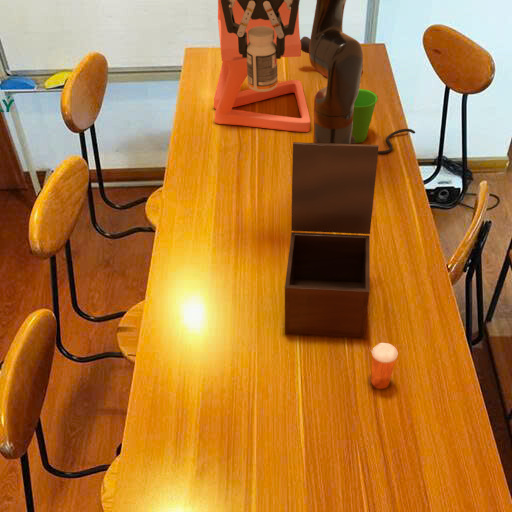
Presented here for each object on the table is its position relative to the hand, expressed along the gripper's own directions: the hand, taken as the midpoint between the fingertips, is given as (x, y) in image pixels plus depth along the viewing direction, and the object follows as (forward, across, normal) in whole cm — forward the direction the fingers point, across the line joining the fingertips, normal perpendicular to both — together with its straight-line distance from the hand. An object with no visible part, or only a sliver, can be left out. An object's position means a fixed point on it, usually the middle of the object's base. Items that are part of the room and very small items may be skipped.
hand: (261, 56), depth 127 cm
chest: (+40, -15, +23) cm, 48 cm away
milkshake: (+40, -26, +43) cm, 64 cm away
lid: (+18, -15, +14) cm, 27 cm away
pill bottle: (+6, 0, 0) cm, 6 cm away
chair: (+40, +7, -54) cm, 67 cm away
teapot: (+40, -11, -79) cm, 89 cm away
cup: (+40, -20, -42) cm, 61 cm away
